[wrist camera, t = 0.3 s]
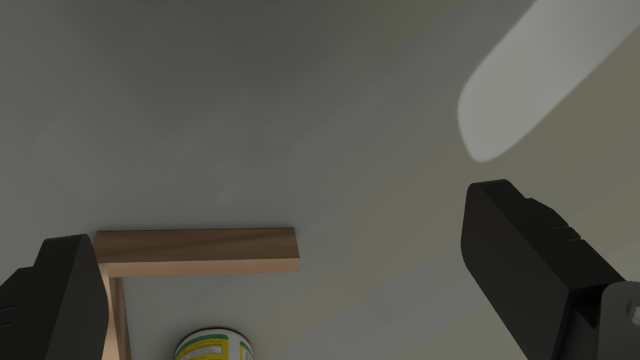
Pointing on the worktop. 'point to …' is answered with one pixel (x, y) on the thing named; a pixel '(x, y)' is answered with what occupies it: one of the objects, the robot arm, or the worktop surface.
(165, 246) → the wooden frame
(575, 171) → the worktop surface
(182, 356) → the supplement bottle
